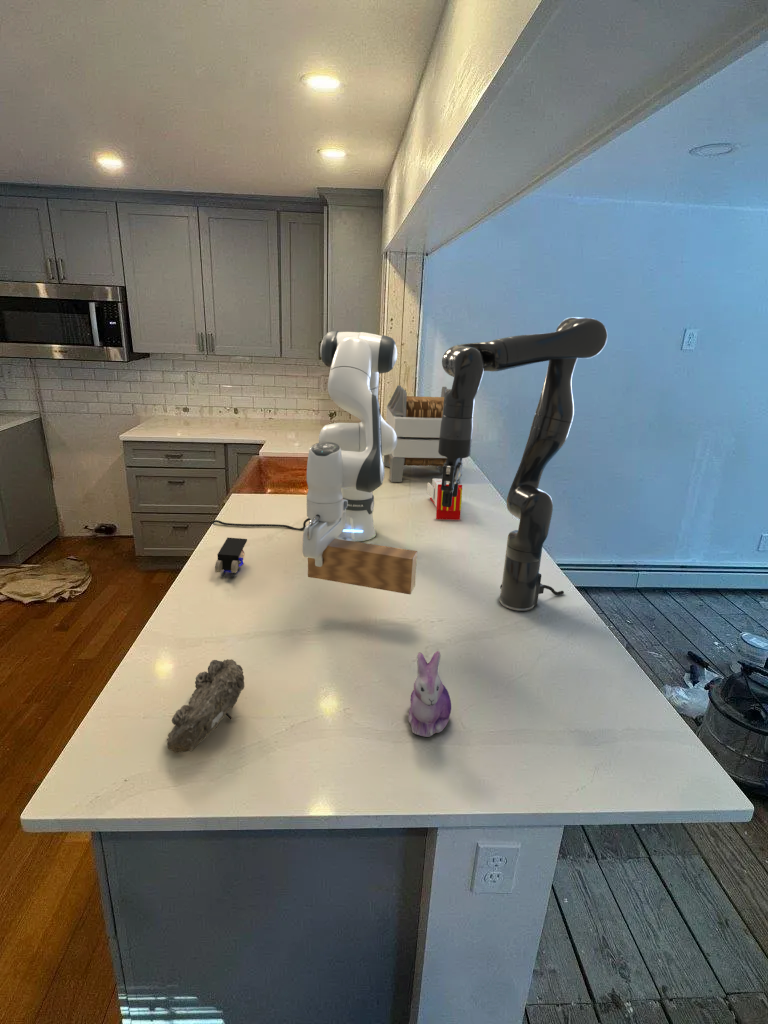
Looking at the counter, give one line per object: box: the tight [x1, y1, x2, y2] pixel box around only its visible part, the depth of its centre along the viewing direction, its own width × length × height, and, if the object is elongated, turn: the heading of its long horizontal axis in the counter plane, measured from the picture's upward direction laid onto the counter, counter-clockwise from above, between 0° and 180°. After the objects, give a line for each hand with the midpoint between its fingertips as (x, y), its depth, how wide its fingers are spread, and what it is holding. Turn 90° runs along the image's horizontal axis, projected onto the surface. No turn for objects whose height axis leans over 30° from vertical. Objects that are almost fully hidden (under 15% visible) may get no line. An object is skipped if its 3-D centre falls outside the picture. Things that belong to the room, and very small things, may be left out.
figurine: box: [407, 650, 452, 738], centre depth 107 cm, size 9×10×15 cm
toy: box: [426, 478, 463, 521], centre depth 226 cm, size 12×13×30 cm
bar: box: [307, 539, 418, 595], centre depth 142 cm, size 27×5×10 cm, turn 74°
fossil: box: [166, 658, 245, 754], centre depth 106 cm, size 22×10×15 cm
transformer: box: [383, 384, 461, 484], centre depth 268 cm, size 34×33×41 cm
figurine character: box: [214, 537, 248, 578], centre depth 166 cm, size 7×8×15 cm
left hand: (324, 560), depth 144 cm, fingers closed on bar, 5 cm apart
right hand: (449, 501), depth 137 cm, fingers open, 8 cm apart
